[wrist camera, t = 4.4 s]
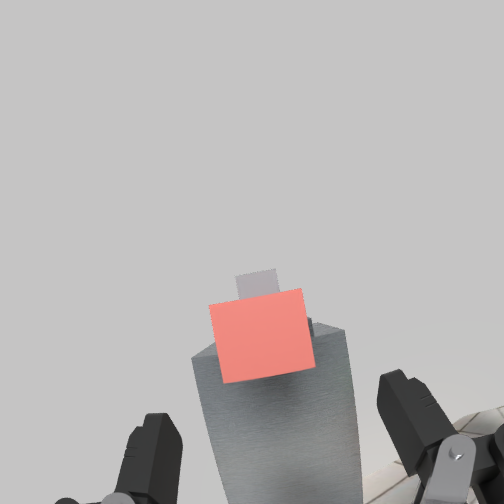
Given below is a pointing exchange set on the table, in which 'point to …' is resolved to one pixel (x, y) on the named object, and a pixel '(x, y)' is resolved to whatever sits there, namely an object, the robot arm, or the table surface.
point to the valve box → (286, 428)
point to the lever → (261, 330)
